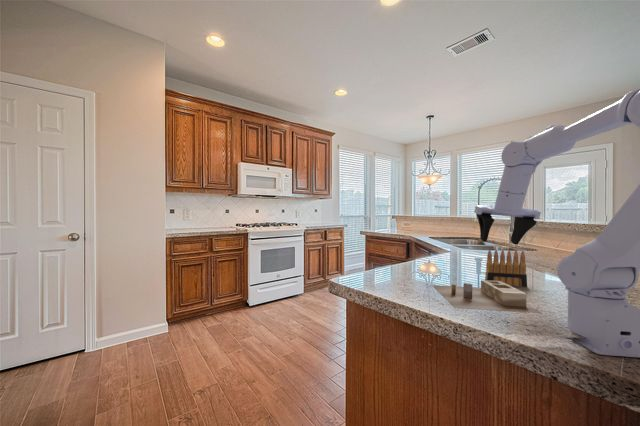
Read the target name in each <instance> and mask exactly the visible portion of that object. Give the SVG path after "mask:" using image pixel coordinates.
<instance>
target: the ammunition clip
mask: <svg viewBox="0 0 640 426" xmlns="http://www.w3.org/2000/svg"><path fill="white" fill-rule="evenodd" d="M493 253H494V254H493ZM493 253H492V251H491V249H489V250H488V252H487V257H486V258H487V259H486V264H485V265H486V268H485V269H486V270H485V279H484V280H487V281H501V282H504V283H506V284H508V285H510V286H512V287H513V286H514V287H515V286H516V287H523V288H526V287H527V288H528V276H527V264H526V255H525V252H524V250H523V251H521V253H520V258H519V254H518V253H519V252H518V251H517V250H515V251H514V253H513V259H512V253H511V251H510V250H508V251H507V253H506V254H507V255H506V256H505V251H504V250H501V252H500V256H499V252H498V250H497V249H495V250H494V252H493ZM492 255H493V256H492Z"/></svg>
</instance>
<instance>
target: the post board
mask: <svg viewBox="0 0 640 426" xmlns="http://www.w3.org/2000/svg"><path fill="white" fill-rule="evenodd" d="M432 287H433V288H434V289H435V290H436V292H438V293H439V294H440V295H441V296H442V297H443V298H444V299H445V300H446V301H447V302H448V303H449V305H451V306H452V307H453V308H455V309H469V310H470V309H471V310H484V311H485V310H487V311H503V312H505V311H506V312H518V313H519V312H521V313H537V314H539V313H540V314H541V313H542V311H540V310H538V309H536V308H535V307H533V306H531V305H529V304H527V303H526V306H507V305H502V304H500V303H499V302H497V301H496V300H494V299H493V298H491V297H489V296H488V295H486V294H485V293H483V292H482V291H481V286H480V287H477V286H476V287H475V286H473V284H472V283H469V282H463V286H458V285H457V284H456V283H451V285H433V284H432Z"/></svg>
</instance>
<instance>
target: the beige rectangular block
mask: <svg viewBox="0 0 640 426" xmlns="http://www.w3.org/2000/svg"><path fill="white" fill-rule="evenodd" d="M480 288H481V291H482V292H483V293H485V294H486V295H488V296H489V297H491V298H493V299H494V300H496V301H497V302H499V303H500V304H502V305H507V306H526V304H527V298H528V297H527V293H525V292H524V291H522V290H520V289H518V288H516V287H515V286H514V287H513V285H512V286H510V285H508V284H506V283H504V282H501V281H487V280H485V279H483V280H480Z"/></svg>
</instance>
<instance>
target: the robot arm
mask: <svg viewBox="0 0 640 426" xmlns="http://www.w3.org/2000/svg"><path fill="white" fill-rule="evenodd" d="M628 125H635V126H636V127H638V128H639V129H640V88H638V89H635V90H632V91H629V92H627V93H626V94H625V95H624V96H623V97H622V98H621V99H619V100H618V101H615V102H613V103H612V104H610V105H608V106H606V107H604V108H602V109H600V110H597V111H596V112H594V113H592V114H590V115H588V116H586V117H584V118H582V119H580V120H579V121H576V122H575V123H572V124H570V125H569V126H565V125H561V124H560V125H559V124H558V125H554V124H552V125H549V126H546V127H545V128H546V129H545V130H544V131H543V132H540V133H537V134H536V135H534V136H531V135H530V136H528V137H526V140H523V141H521V142H520V141H518V140H515V141H514V140H513V141H510V143H508V144H507V145H506V146H504V148H503V150H502V152H501V162H502V163H503V164H504V168H503V171H502V176H501V180H500V184H499V188H498V190H497V195H496V199H495V203H494V204H493V205H490V204H489V205H481V204H480V205H478V204H477V205H475V207H474V211H473V212H474V213H475V214H476V218H477V221H478V224H479V230H480V232H479V233H480V236H479V237H480V240H481V241H482V242H485V243H486V242H487V241H488V238H489V234H490V231H491V228H492V226H493V223H494V222H495V219H494V218H493V216H503V217H514V222H513V223H514V225H513V231H512V234H511V237H510V242H511V243H512V244H514V245H518V244H519V243H520V242H521V240H522V239H523V237H524V236H525V235H526V234H527V232H529V231H530V230H531V229H532V228H533V227H534V226H536V224H537V222H538V221H537V220H540V217H541V213H542V212H541V211H539V210H537V209H530V208H529V209H528V208H523V206H524V203H525V200H526V199H525V198H526V197H527V193H528V191H529V190H528V189H529V186H530V183H531V179H532V175H534V173H535V172H536V170H537V167H538V166H540V164H541V163H542V162H543V161H544V160H547V159H550V158H552V157H555V156H557V155H561V154H563V153H566V152H569V151H571V150H572V149H573V148H574V147H575V145H576V143H577V142H579V141H583V140H586V139H589V138H592V137H595V136H599V135H601V134H603V133H607V132H610V131H613V130H616V129H618V128H621V127H624V126H628ZM556 273H557V276H558V279H559V280H560V281H561V283H562V284H563V286H565V288H564V289H565V290H567V329H568V330H569V331H571V332H572V333H575V334H577V335H579V336H581V337H574V336H573V337H572V336H570V337H568V338H569V339H571V340H573V341H574V342H576V343H577V344H580V345H581V346H583V347H584V348H586V349H587V350H589V351H591V352H593V353H594V354H597V355H599V356H601V355H602V356H616V357H630V358H640V308H639V307H637V306H636V305H633V304H631V303H630V302H629V301H628V299H627V298H626V297H627V296H628V294H629V293H628V291H629V289H632V288H633V287H634V286H635V285H636V284H637V283H638V281H639V273H640V183H638V185H637V187H636V188H635V189H634V190H633V191H632V193H631V194H630V195H629V197H628V198H627V199H626V200H625V202H624V203H623V204H622V205H621V207H620V208H619V209H618V211H617V212H616V213H615V214H614V216H613V217H612V218H611V219H610V221H609V222H608V223H606V226H604V228H603V230H602V231H601V232H600V233H599V234H598V236H596V238H595V239H593V240H592V241H589V242H588V243H586V244H583V245H580V247H577V249H576V250H575V251H574V252H573V253H572V254H571V255H569V256H566V257H563V258H562V259H561V260H560V261H559V262H558V265H557V272H556Z"/></svg>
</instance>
